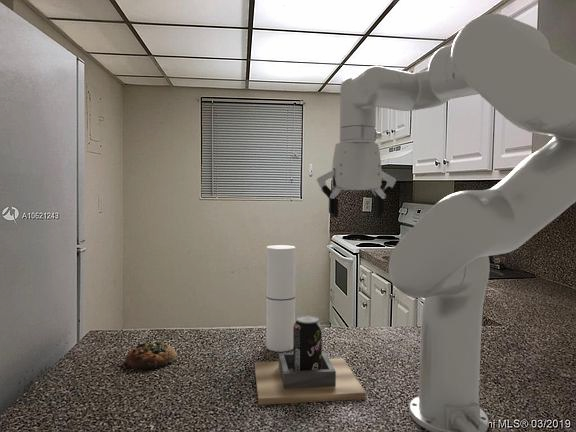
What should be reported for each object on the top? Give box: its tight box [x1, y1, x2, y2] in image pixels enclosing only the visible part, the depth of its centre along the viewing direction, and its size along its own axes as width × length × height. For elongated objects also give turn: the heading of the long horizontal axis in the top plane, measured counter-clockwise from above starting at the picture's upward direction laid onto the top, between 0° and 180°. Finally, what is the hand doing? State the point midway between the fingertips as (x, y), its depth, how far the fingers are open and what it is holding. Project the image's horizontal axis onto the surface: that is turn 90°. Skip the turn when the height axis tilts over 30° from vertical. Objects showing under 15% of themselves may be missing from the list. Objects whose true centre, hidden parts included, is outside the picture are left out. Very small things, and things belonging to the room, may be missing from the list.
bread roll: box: [124, 341, 178, 371], centre depth 94 cm, size 11×11×5 cm
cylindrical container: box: [265, 244, 296, 353], centre depth 103 cm, size 7×7×25 cm
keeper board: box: [254, 350, 366, 406], centre depth 84 cm, size 16×20×4 cm
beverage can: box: [292, 314, 323, 371], centre depth 83 cm, size 6×6×12 cm
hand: (356, 217), depth 89 cm, fingers open, 9 cm apart
